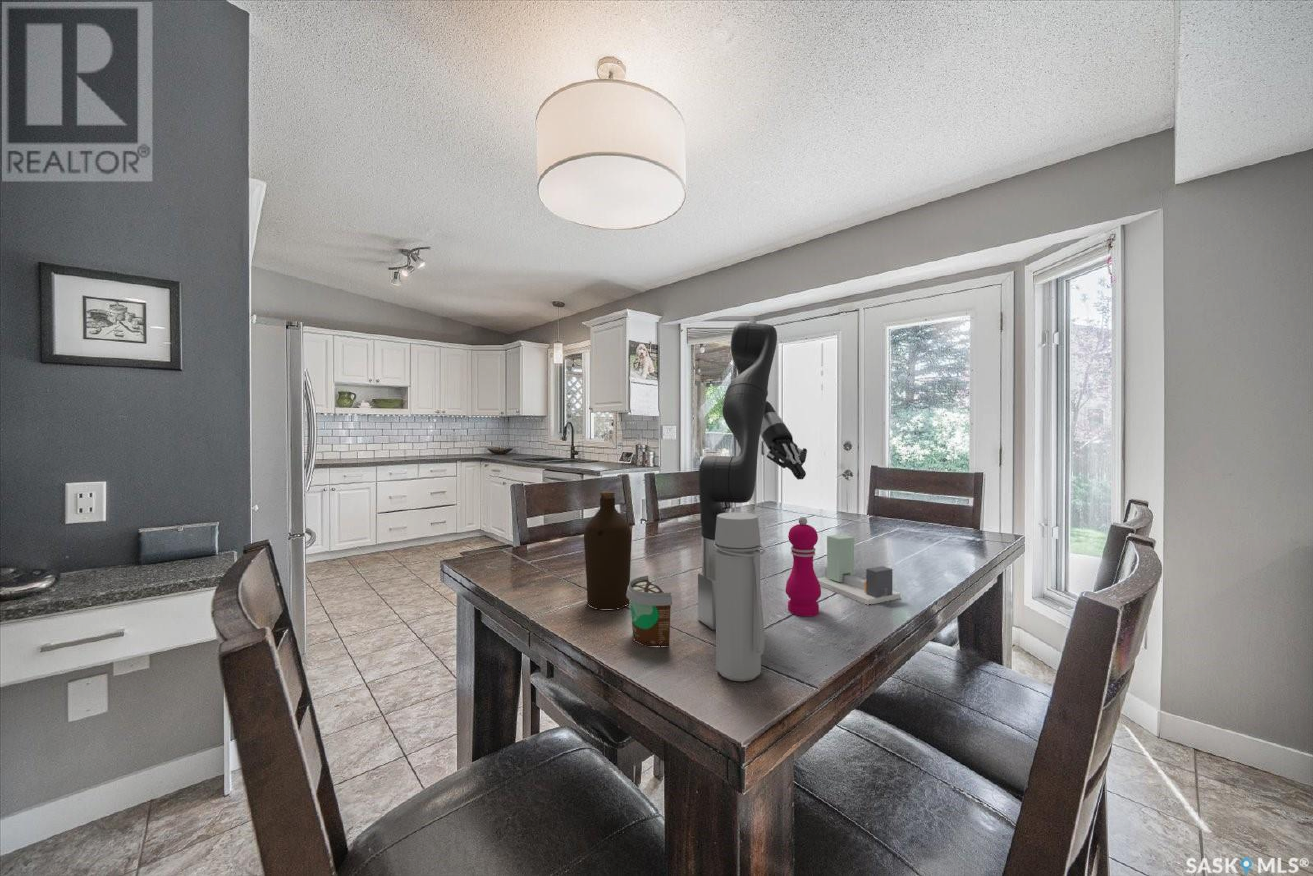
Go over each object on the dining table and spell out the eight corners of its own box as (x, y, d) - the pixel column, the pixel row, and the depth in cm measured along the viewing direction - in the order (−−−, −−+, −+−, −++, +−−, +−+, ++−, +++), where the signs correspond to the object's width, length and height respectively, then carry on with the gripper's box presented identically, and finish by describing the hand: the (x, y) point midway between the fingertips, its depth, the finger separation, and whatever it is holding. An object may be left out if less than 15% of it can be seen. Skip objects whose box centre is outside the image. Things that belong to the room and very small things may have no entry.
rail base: (867, 605, 109) (867, 573, 109) (813, 583, 124) (813, 555, 124) (900, 598, 113) (900, 567, 113) (844, 578, 128) (844, 551, 128)
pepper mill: (825, 617, 102) (825, 520, 102) (790, 617, 102) (789, 520, 102) (815, 605, 109) (815, 514, 109) (782, 605, 109) (781, 514, 109)
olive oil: (638, 608, 108) (636, 493, 108) (589, 614, 105) (588, 496, 104) (625, 593, 118) (624, 488, 118) (580, 598, 115) (579, 490, 114)
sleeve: (838, 582, 120) (838, 539, 120) (827, 577, 124) (826, 535, 124) (854, 579, 122) (853, 537, 122) (841, 575, 126) (841, 534, 125)
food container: (618, 629, 97) (617, 578, 97) (647, 624, 99) (647, 574, 99) (639, 656, 85) (639, 597, 85) (672, 649, 88) (672, 593, 87)
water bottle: (704, 669, 80) (703, 514, 80) (741, 657, 84) (740, 510, 84) (743, 695, 72) (742, 523, 72) (782, 680, 76) (781, 518, 76)
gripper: (759, 422, 138) (788, 469, 127) (798, 421, 144) (828, 467, 133) (749, 440, 143) (775, 487, 132) (786, 440, 149) (815, 485, 138)
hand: (802, 477), depth 132 cm, fingers closed
